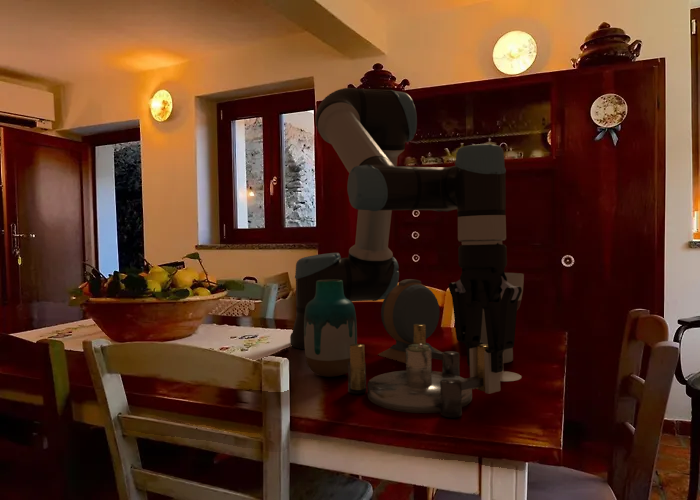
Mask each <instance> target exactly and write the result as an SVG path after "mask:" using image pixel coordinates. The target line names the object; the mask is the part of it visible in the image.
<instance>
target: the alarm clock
mask: <svg viewBox="0 0 700 500" xmlns="http://www.w3.org/2000/svg"><path fill="white" fill-rule="evenodd" d="M382 300H383V301H382V305H381V309H380V310H381V311H380V318H381V322H382V325H383V327H384V329H385V331H386V333H387V334H388V335H389V336H390V337H391V338H392V339H394V340H395V344H392V345H391V346H390V347H389V348H387V349H385V350H384V351H382V352H379V353H378V354H377V356H378V355H379V357H382V358H385V357H386V359H390V360H392V359H393V360H392V361H396V360H397V361H396V362H398V363H404V364H406V349H407V348H408V346H409V345H412V344H414V333H413V325H414V324H425V325H426V340H427V339H428V338H430V337H431V336H432V334H433V333H434V332H435V331H436V329H437V327H438V323H439V319H440V314H441V313H440V310H441V309H440V304H439V300H438V299H437V297H436V295H435V294H434V292H433V291H432V290H431V289H430V288H428V287H427V286H426V285H425V284H422V281H421V280H419V279H412V278H409V279H407V278H406V279H403V280H400V281H398V285H397V286H395V287H394V288H392V289H391V290H390V292H389V293H388V294H387V295H386V297H385V299H382ZM426 345H428V346H429V348H430V349H431V350H433V351H439V352H442V351H441V350H439V349H437V348H435V347H434V346H432V345H431V344H430V343H428V342H426Z"/></svg>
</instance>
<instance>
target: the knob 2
mask: <svg viewBox="0 0 700 500" xmlns="http://www.w3.org/2000/svg"><path fill="white" fill-rule="evenodd" d="M485 349H488V345H487V344H480V345H477V376H475V377H470V376H469V377H467V378H465V377H464V378H465V379H460V380H456V379H443V380H441V381H440V395H441V412H440V415H441V416H443V417H444V418H449V419H451V418H452V419H453V418H460V417H462V416H463V409H462V408H463V407H462V390H466V389H470V388H475V387H477V390H478V391H480V392H485V360H484V352H485Z"/></svg>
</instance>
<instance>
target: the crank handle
mask: <svg viewBox="0 0 700 500" xmlns="http://www.w3.org/2000/svg"><path fill="white" fill-rule="evenodd" d="M413 333H414V344H424V345H426V343H427V341H426V340H427V339H426V325H425V324H414V325H413ZM439 351H440V350H439ZM439 351H433V350H431V360H432V359H435V360H440V361H441V363H442V364H441V365H442V372H444V373H449V374H453V375H457V376H460V375H461V374H460V373H461V372H460V371H461V370H460V366H461V365H460V362H461V361H460V352H457V351H452V350H451V351H450V350H448V351H441V352H439ZM460 377H461V376H460Z"/></svg>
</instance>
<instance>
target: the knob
mask: <svg viewBox="0 0 700 500" xmlns="http://www.w3.org/2000/svg"><path fill="white" fill-rule="evenodd" d="M365 351H366V350H365V344H362V343H357V344H352V345H350V362H349V363H348V373H347V388H348V389H347V392H348V393H349V394H354V395H355V394H356V395H359V394H360V395H361V394H365V393H366V392H367V370H366V369H367V368H366V364H367V363H366V358H365V357H366V352H365Z"/></svg>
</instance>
